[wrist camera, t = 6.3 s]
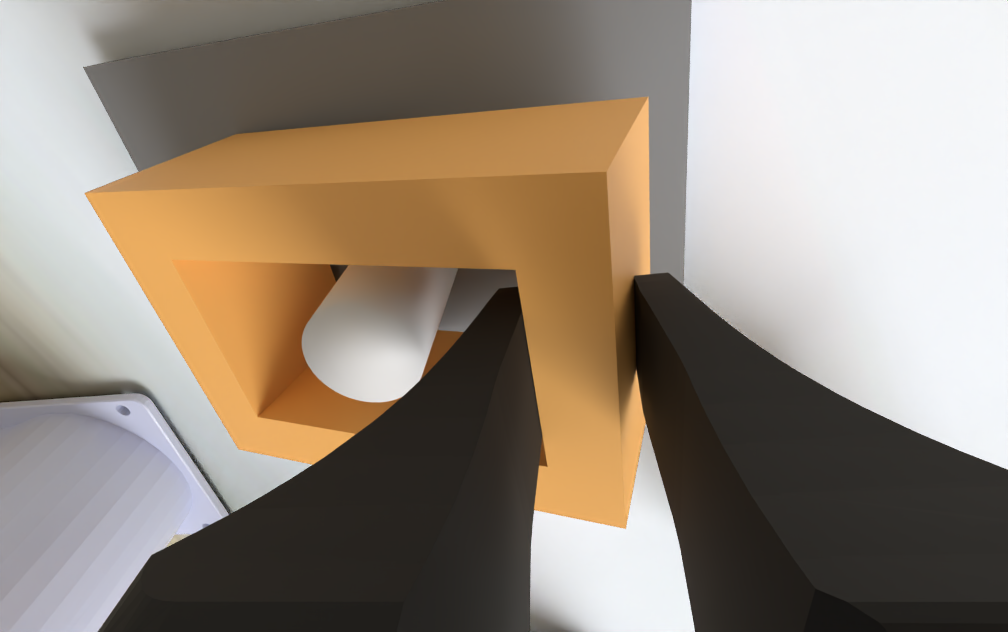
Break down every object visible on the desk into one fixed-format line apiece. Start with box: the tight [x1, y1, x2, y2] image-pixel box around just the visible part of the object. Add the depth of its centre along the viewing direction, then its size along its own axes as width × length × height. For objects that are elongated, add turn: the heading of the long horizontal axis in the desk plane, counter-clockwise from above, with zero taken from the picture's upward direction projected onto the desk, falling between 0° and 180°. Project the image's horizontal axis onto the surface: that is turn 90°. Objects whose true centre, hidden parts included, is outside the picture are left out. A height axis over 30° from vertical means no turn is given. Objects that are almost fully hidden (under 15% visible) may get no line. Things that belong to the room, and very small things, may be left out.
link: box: [85, 97, 650, 529], centre depth 12 cm, size 10×7×4 cm
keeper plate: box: [83, 0, 691, 402], centre depth 13 cm, size 14×11×6 cm
